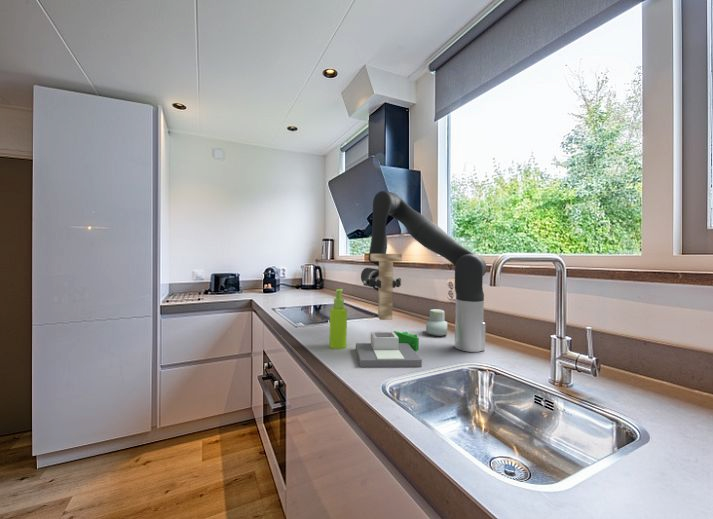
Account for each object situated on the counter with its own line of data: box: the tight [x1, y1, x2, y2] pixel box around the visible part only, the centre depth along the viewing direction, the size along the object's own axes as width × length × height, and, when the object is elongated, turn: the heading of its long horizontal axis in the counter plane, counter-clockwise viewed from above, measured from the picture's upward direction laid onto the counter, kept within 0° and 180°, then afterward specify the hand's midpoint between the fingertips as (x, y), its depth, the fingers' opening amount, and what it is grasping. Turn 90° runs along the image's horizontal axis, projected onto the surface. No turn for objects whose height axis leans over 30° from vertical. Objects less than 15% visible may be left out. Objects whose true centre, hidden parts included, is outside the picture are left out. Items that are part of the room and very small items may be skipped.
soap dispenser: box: [329, 288, 348, 350], centre depth 110 cm, size 6×7×20 cm
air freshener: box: [425, 308, 448, 337], centre depth 129 cm, size 11×8×10 cm
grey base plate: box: [355, 331, 423, 368], centre depth 99 cm, size 18×17×6 cm
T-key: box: [370, 253, 403, 321], centre depth 103 cm, size 10×4×21 cm, turn 94°
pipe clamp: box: [392, 330, 420, 352], centre depth 112 cm, size 11×4×5 cm, turn 39°
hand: (387, 284), depth 101 cm, fingers closed on T-key, 4 cm apart
